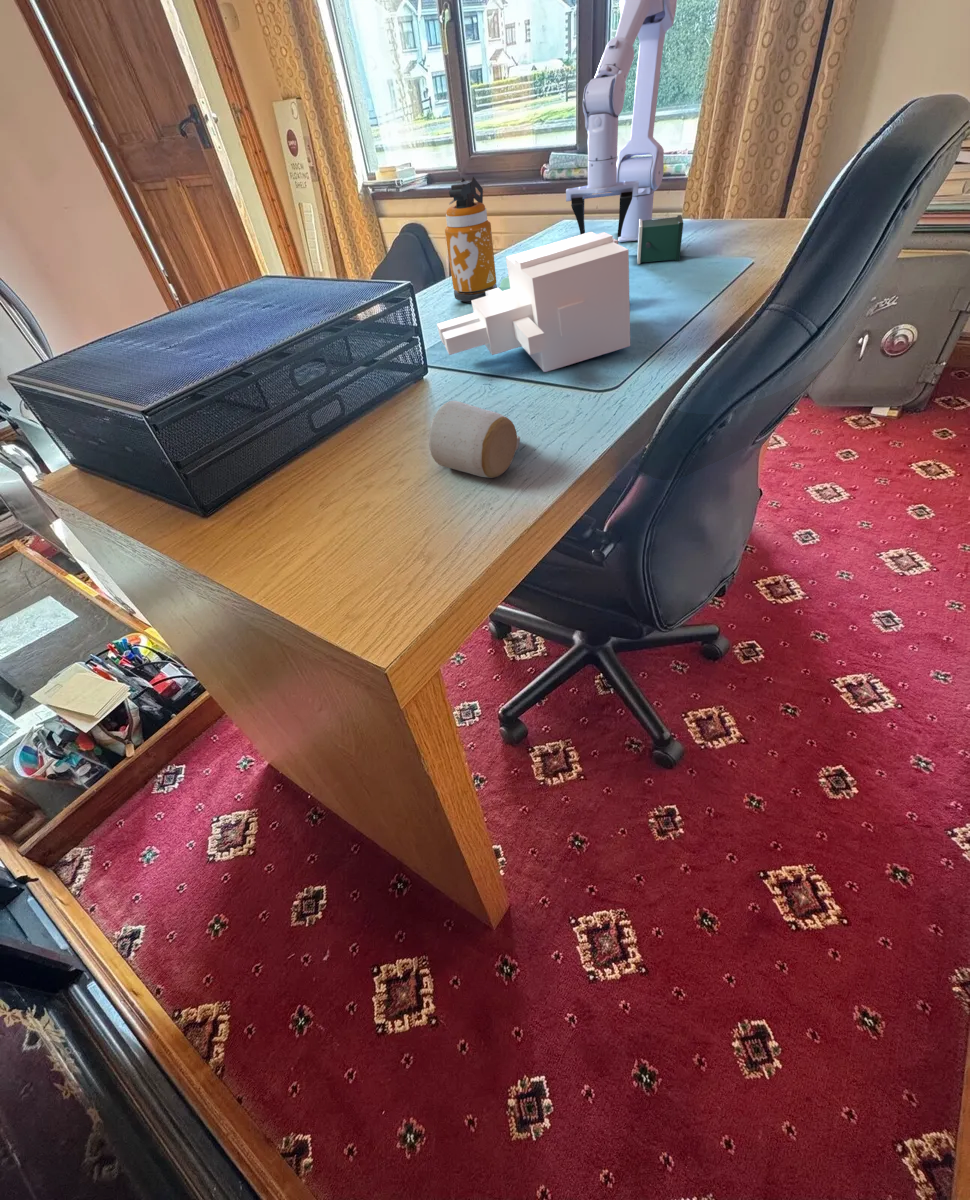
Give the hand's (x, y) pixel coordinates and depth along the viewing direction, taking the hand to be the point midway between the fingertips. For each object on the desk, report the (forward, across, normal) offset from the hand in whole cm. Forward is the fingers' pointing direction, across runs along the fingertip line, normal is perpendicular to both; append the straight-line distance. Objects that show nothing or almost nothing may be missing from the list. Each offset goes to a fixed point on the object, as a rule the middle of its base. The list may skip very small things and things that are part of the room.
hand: (601, 237), depth 121 cm
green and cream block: (+5, +12, 0) cm, 13 cm away
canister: (+5, -24, -17) cm, 30 cm away
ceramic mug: (+5, -10, -84) cm, 85 cm away
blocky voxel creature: (+5, -8, -51) cm, 52 cm away
